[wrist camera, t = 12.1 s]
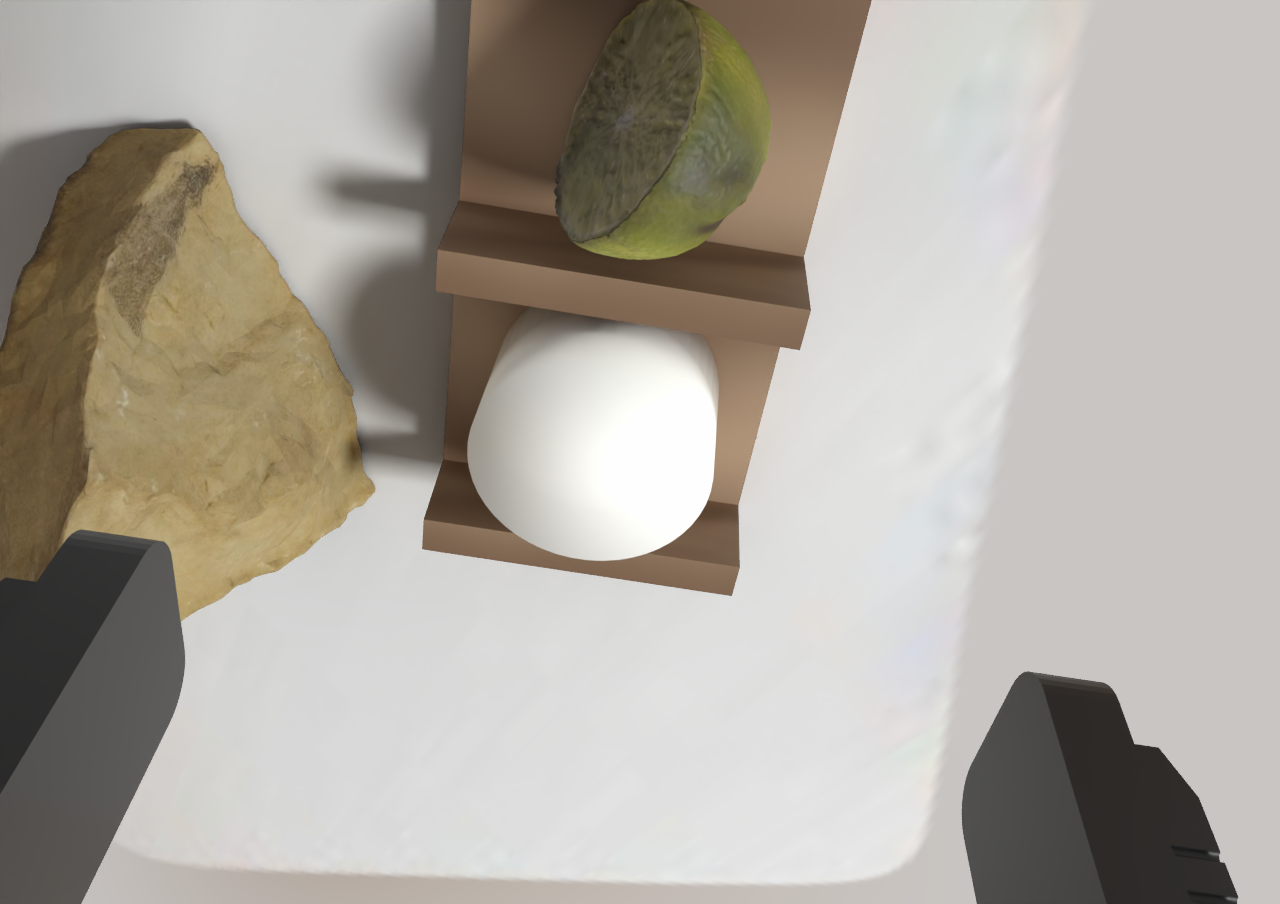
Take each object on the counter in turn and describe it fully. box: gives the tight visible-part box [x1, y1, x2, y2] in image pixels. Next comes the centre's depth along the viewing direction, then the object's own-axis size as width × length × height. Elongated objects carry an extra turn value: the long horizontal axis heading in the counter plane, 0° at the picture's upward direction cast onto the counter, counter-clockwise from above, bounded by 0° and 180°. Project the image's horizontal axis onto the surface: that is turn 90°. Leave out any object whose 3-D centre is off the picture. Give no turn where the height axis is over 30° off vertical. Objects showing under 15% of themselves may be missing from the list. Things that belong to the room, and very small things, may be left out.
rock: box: [0, 128, 375, 621], centre depth 27 cm, size 11×9×10 cm
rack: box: [422, 0, 872, 596], centre depth 26 cm, size 16×8×4 cm, turn 171°
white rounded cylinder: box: [467, 307, 719, 561], centre depth 27 cm, size 6×6×4 cm
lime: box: [554, 0, 772, 260], centre depth 22 cm, size 4×5×5 cm
